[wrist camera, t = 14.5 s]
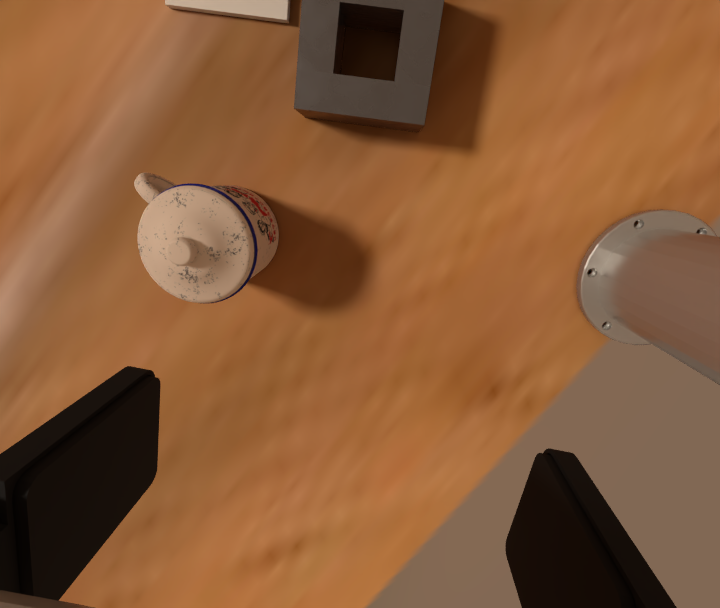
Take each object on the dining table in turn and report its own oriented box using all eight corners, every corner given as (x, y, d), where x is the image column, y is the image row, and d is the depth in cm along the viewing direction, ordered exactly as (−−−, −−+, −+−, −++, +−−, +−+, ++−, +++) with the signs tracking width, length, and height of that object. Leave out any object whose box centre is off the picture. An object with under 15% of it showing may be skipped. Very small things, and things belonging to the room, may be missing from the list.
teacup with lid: (301, 230, 39) (270, 250, 28) (242, 297, 42) (192, 340, 30) (201, 138, 38) (125, 120, 26) (144, 213, 40) (52, 226, 29)
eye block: (439, -1, 34) (448, -31, 29) (418, 132, 37) (424, 125, 32) (316, -16, 34) (305, -49, 29) (305, 117, 37) (294, 108, 32)
